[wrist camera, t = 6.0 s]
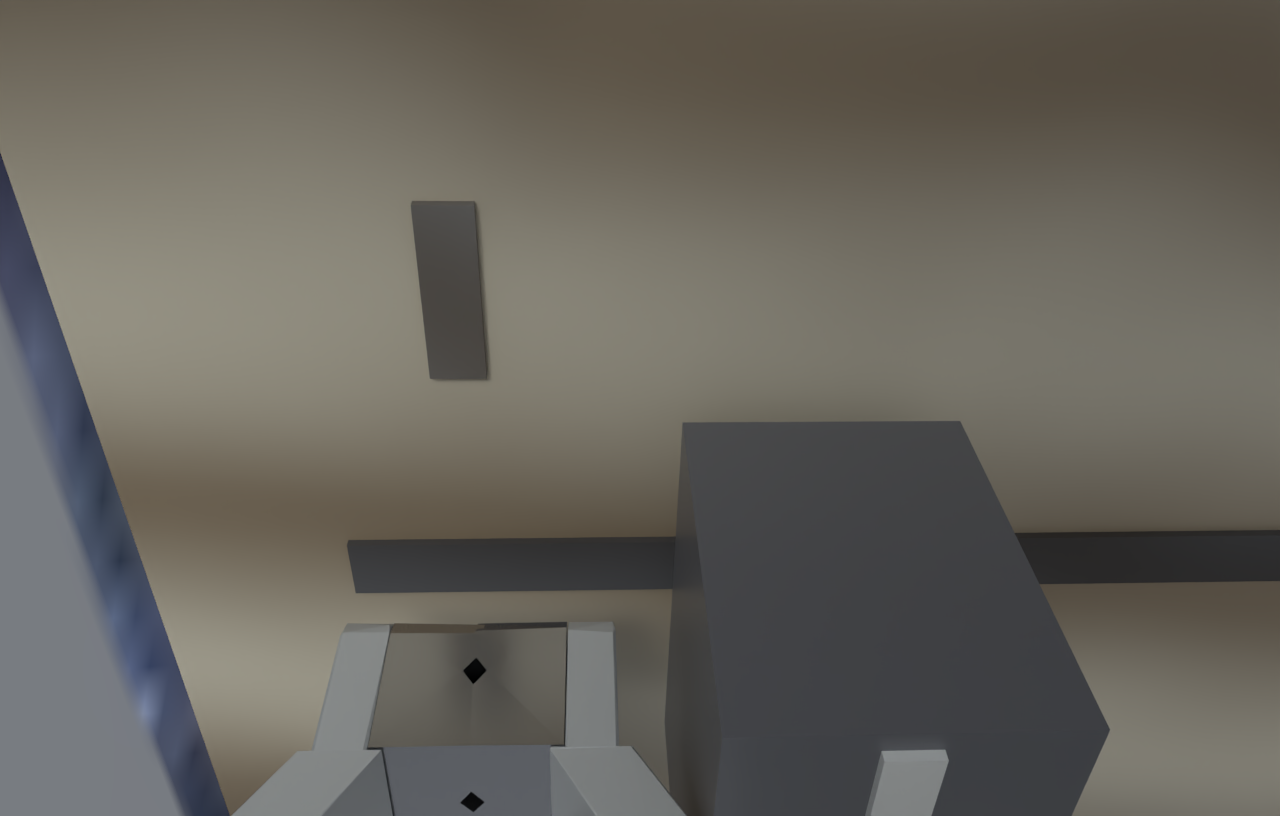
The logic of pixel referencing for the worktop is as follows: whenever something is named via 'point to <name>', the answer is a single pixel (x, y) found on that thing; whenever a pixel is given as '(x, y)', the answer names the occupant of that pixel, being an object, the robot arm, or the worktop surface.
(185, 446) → the console
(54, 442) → the worktop surface
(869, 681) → the fader knob
